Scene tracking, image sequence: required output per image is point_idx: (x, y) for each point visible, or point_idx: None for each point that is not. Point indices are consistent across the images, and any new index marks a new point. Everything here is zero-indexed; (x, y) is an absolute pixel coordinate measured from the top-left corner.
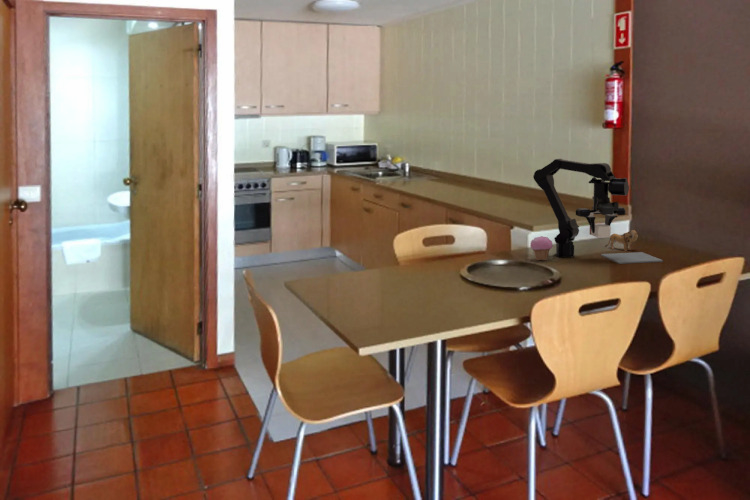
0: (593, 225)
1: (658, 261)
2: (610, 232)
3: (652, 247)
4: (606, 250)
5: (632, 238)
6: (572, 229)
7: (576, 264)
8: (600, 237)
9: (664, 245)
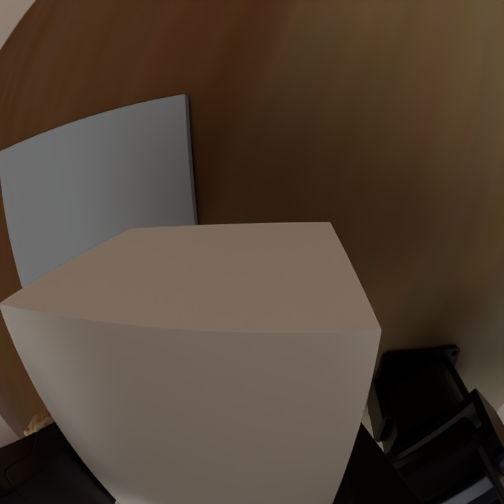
0: (377, 490)
1: (12, 147)
2: (88, 252)
3: (32, 400)
4: None
5: (47, 419)
6: (476, 476)
7: (462, 140)
8: (289, 224)
9: (15, 403)
